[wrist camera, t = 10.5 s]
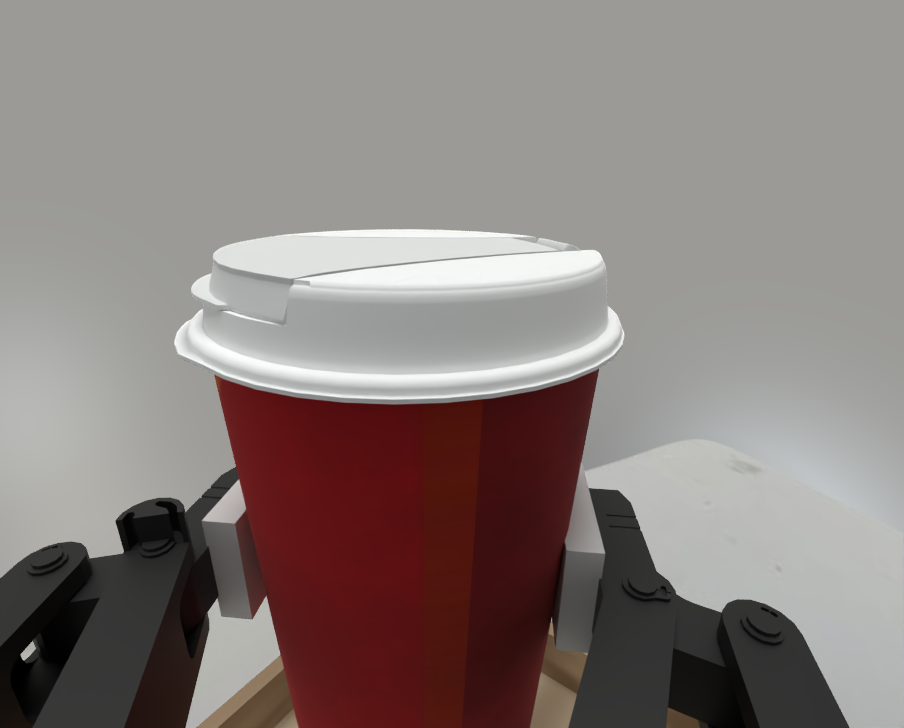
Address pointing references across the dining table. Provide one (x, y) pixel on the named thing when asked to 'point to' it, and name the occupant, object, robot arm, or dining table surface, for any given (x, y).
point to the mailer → (274, 722)
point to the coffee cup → (407, 457)
